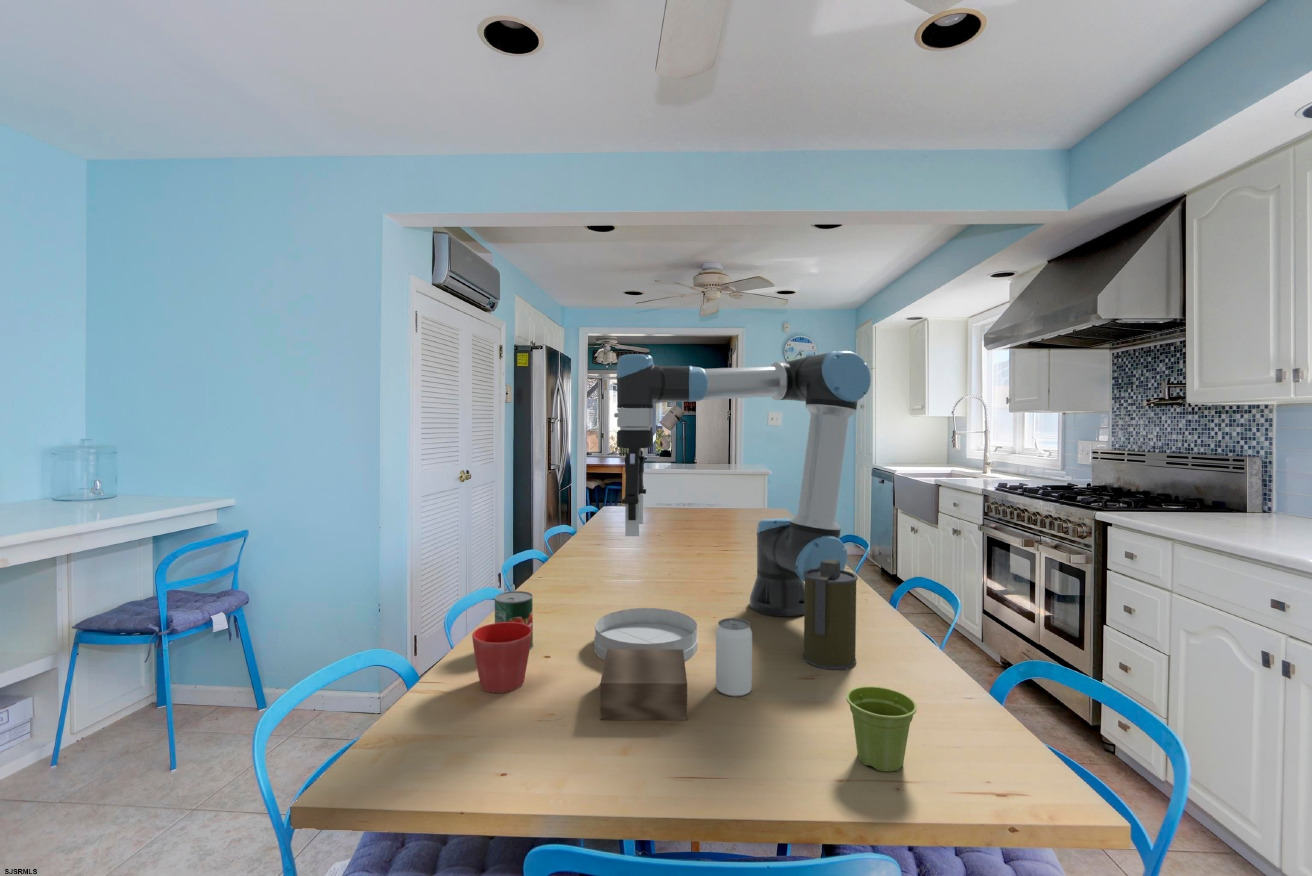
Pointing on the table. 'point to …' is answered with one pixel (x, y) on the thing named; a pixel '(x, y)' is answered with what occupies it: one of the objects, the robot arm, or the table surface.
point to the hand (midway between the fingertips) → (634, 529)
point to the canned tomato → (515, 608)
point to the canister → (830, 616)
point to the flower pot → (502, 655)
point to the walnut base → (643, 685)
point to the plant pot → (881, 725)
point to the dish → (646, 631)
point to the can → (734, 657)
